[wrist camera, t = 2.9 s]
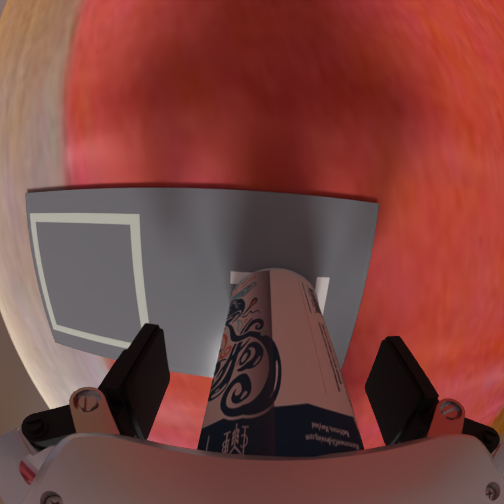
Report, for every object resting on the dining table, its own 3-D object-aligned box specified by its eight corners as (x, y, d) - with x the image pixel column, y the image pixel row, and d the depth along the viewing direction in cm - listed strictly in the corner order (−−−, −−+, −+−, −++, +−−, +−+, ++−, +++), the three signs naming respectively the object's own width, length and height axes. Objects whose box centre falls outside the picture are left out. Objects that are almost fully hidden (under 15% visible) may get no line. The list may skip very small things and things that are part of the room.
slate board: (27, 192, 14) (25, 193, 13) (377, 203, 13) (379, 203, 13) (56, 340, 17) (55, 342, 17) (336, 380, 17) (336, 382, 17)
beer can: (238, 255, 14) (173, 505, 3) (327, 273, 14) (426, 494, 3) (223, 331, 16) (179, 537, 4) (302, 345, 16) (331, 543, 4)
